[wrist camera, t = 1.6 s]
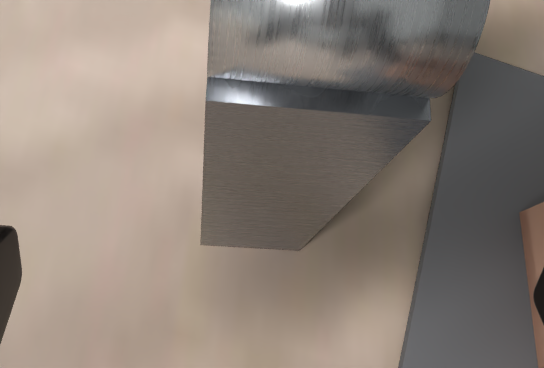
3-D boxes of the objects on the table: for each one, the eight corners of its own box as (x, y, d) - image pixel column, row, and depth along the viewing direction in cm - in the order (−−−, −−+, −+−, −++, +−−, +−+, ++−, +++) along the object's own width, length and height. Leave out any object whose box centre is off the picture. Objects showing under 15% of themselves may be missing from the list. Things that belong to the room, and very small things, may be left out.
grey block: (299, 250, 20) (507, 45, 7) (200, 245, 20) (208, 12, 6) (300, 167, 21) (482, -154, 8) (206, 160, 21) (225, -195, 7)
